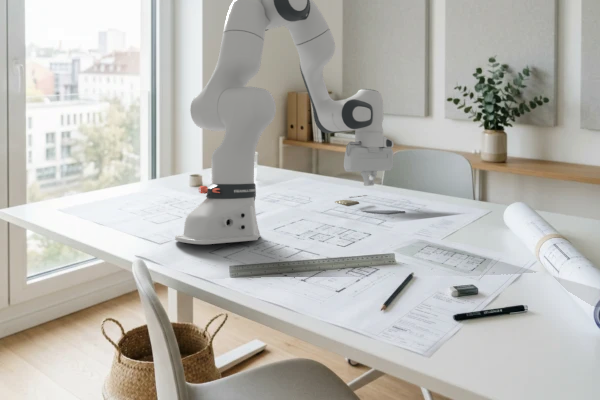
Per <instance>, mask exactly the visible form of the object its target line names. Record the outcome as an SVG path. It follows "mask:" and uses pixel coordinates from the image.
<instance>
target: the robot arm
mask: <svg viewBox="0 0 600 400" xmlns="http://www.w3.org/2000/svg"><path fill="white" fill-rule="evenodd" d="M281 27H284V28H286V29H287V30H288V32H289V34H290V37H291V39H292V42H293V44H294V46H295V49H296V51H297V53H298V57H299V58H298V59H299V60H300V61H299V69H300V74H301V77H302V80H303V83H304V87H305V90H306V92H307V94H308V98H309V100H310V103H311V106H312V111H313V112H312V113H313V118H314V123H315V125H316V127H317V129H319V130H320V131H321V132H322V133H324V134H333V133H338V132H348V131H354V132H355V133H354V134H355V135H354V136H355V137H354V139H355V140H354V141H349V143H348V144H347V145H346V146H345V152H344V157H343V158H344V160H343V168H344V171H345V172H347V173H348V172H350V173H351V172H354V173H355V172H361V173H360V176H361V177H362V179H363V186H365V187H370V186H371V187H373V186H375V179H376V177H377V176H378V175H377V174H378V172H383V171H392V170H393V168H394V150H393V148H394V145H395V143H394V141H393V140H392V139H389V138H388V137H387V136H385V135H384V129H383V123H384V102H383V97H382V93H380V92H379V91H377V90H375V89H371V88H370V89H368V88H362V89H359V90H358V91H357V92H356V93H355V94H353V95H351V96H350V97H347V98H345V99H338V100H334V99H333V98H331V96H330V94H329V91H328V88H327V85H326V81H325V79H324V75H323V73H324V72H323V70H324V68H325V67H326V65H327V64H328V63H329V62H330V61H331V60H332V58H333V56H334V54H335V51H336V43H335V38H334V36H333V34H332V31H331V29H330V27H329V25H328V22H327V21H326V19H325V17H324V15H323V13H322V11H321V10H320V9H319V7H318V6H317V4H316V3H315V2H314V1H313V0H232V2H231V4H230V6H229V9H228V12H227V15H226V18H225V22H224V25H223V30H222V34H221V35H222V36H221V43H220V46H219V54H218V58H217V61H216V64H215V67H214V70H213V71H212V73H211V76H210V78H209V80H208V81H207V83H206V85H205V86H204V87H203V89H201V91H200V92H199V93H198V94H197V95H195V96H194V98H193V99H192V101H191V104H190V109H189V110H190V111H189V112H190V116H191V119H192V121H193V123H194V124H195V125H196V126H197V127H199V128H201V129H203V130H207V131H211V132H224V131H225V134H224V137H223V138H222V139H223V140H222V142H221V143H220V145H219V146H218V147H217V148H215V150H213V152H212V154H211V183H210V184H209V186H207V185H200V186H199V187H198V193H199V194H206V196H205V199H204V200H203V201H202V202H201V203H200V204H198V205H197V206H196V207H195V208H194V209H193V210H191V212H189V213H188V214H187V216H186V217H185V220H184V227H183V234H177V235H175V236H174V237H175V238H174V240H175V241H176V242H180V243H186V244H193V245H212V244H213V245H215V244H226V243H239V242H248V241H249V242H251V241H257V240H259V238H260V237H261V234H260V229H259V224H258V221H257V214H256V213H257V212H256V205H255V204H256V201H255V200H256V197H257V195H256V194H257V192H256V191H257V189H256V188H257V185H256V183H255V156H256V151H257V146H258V143H259V140H260V138H261V136H262V134H263V132H265V130H266V128H267V127H268V126H270V124H272V123H273V121H274V119H275V117H276V112H277V106H276V101H275V98H274V96H273V95H272V92H270V91H269V90H267V89H266V88H260V87H256V86H247V84H248V83H249V82H250V81H251V79H253V78H254V77H256V75H257V74H258V73H259V71H260V69H261V65H262V56H263V50H264V43H265V36H266V35H265V34H266V31H269V30H273V29H275V28H276V29H277V28H281Z"/></svg>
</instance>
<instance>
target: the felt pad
mask: <svg viewBox="0 0 600 400" xmlns="http://www.w3.org/2000/svg"><path fill="white" fill-rule="evenodd" d="M362 212H363V213H367V214H369V213H370V214H379V215H393V214H402V213H403V214H404V213H406V211H405V210H397V209H395V210H394V209H391V210H390V209H387V210H385V209H384V210H383V209H380V210H379V209H378V210H374V209H373V210H362Z"/></svg>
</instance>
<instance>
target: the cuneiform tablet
mask: <svg viewBox="0 0 600 400" xmlns="http://www.w3.org/2000/svg"><path fill="white" fill-rule="evenodd" d="M367 196H368V195H367V194H364V195H363V194H362V195H353V196H349V198H350V199H339V200H335V201H334V203H335V204H338V205H342V206H346V207H348V206H353V205H357V204H360V202H359V201H358V200H353V199H351V198H359V197H360V198H361V197H367Z"/></svg>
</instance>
